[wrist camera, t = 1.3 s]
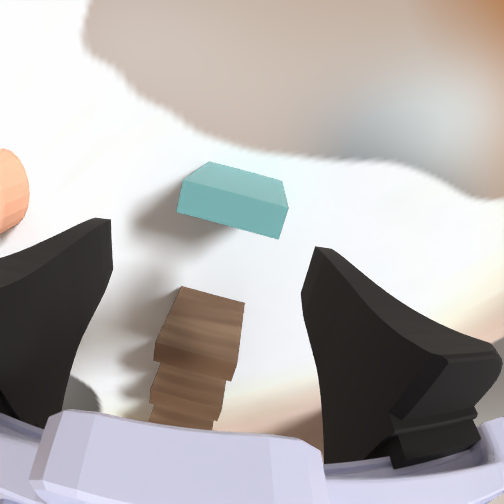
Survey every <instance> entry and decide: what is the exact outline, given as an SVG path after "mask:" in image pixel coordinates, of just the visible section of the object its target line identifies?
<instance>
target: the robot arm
mask: <svg viewBox="0 0 504 504" xmlns="http://www.w3.org/2000/svg"><path fill="white" fill-rule="evenodd" d="M112 271H113V260H112V240H111V220H110V219H101V218H93V219H90V220H87V221H85V222H83V223H80V224H78V225H76V226H74V227H72V228H70V229H68V230H66V231H64V232H62V233H60V234H58V235H56V236H53V237H51V238H49V239H47V240H45V241H43V242H40V243H38V244H36V245H34V246H32V247H29V248H27V249H24V250H22V251H19V252H17V253H14V254H11V255H8V256H6V257H2V258H0V504H487V503H489V502H490V501H492V500H493V499H495V498H497V497H498V496H500V495H501V494H503V493H504V416H502V417H498V418H495V419H492V420H489V421H486V422H484V423H482V424H480V425H479V426H477V427H476V426H475V424H474V421H473V419H475V418H476V417H477V414H478V413H477V411H476V409H475V407H474V406H475V404H476V403H477V402H478V401H479V400H480V399H481V398H482V397H483V396H484V395H485V393H486V392H487V391H488V390H489V389H490V388H491V387H492V385H493V384H494V382H495V381H496V380H497V378H498V376H499V374H500V372H501V368H502V364H503V363H502V359H501V357H500V356H499V354H498V353H497V351H496V349H495V348H494V347H493V345H492V344H490V343H488V342H485V341H482V340H479V339H476V338H473V337H470V336H467V335H464V334H462V333H459V332H457V331H455V330H452V329H450V328H448V327H445V326H443V325H441V324H439V323H437V322H435V321H433V320H431V319H429V318H427V317H425V316H424V315H422V314H420V313H418V312H416V311H415V310H413V309H411V308H410V307H408V306H406V305H405V304H403V303H402V302H400V301H399V300H397V299H396V298H394V297H393V296H391V295H390V294H389V293H387V292H386V291H385V290H383V289H382V288H381V287H379V286H378V285H377V284H375V283H374V282H373V281H372V280H370V279H369V278H368V277H367V276H365V275H364V274H363V273H362V272H361V271H359V270H358V269H357V268H356V267H355V266H353V265H352V264H351V263H350V262H349V261H347V260H346V259H345V258H344V257H342V256H341V255H340V254H338V253H337V252H336V251H334V250H332V249H329V248H322V247H315V249H314V252H313V255H312V259H311V262H310V265H309V269H308V272H307V275H306V278H305V281H304V285H303V288H302V291H301V300H302V310H303V317H304V321H305V325H306V329H307V333H308V337H309V340H310V344H311V348H312V352H313V356H314V359H315V363H316V368H317V373H318V378H319V386H320V395H321V405H322V417H323V437H324V464H323V462H322V456H321V451H320V450H318V449H316V448H315V447H313V446H311V445H310V444H308V443H306V442H305V441H303V440H301V439H299V438H295V437H287V436H279V435H272V434H261V433H238V432H224V431H212V430H201V429H192V428H184V427H176V426H169V425H162V424H156V423H150V422H144V421H138V420H133V419H128V418H123V417H118V416H113V415H109V414H104V413H100V412H91V411H82V410H74V409H69V410H64V411H62V412H61V410H62V405H63V400H64V395H65V391H66V387H67V383H68V379H69V375H70V371H71V368H72V364H73V361H74V358H75V355H76V352H77V349H78V346H79V344H80V341H81V339H82V336H83V334H84V332H85V330H86V328H87V326H88V324H89V322H90V320H91V318H92V316H93V314H94V312H95V310H96V308H97V306H98V304H99V302H100V301H101V299H102V297H103V295H104V293H105V290H106V288H107V285H108V282H109V280H110V277H111V274H112Z"/></svg>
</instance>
